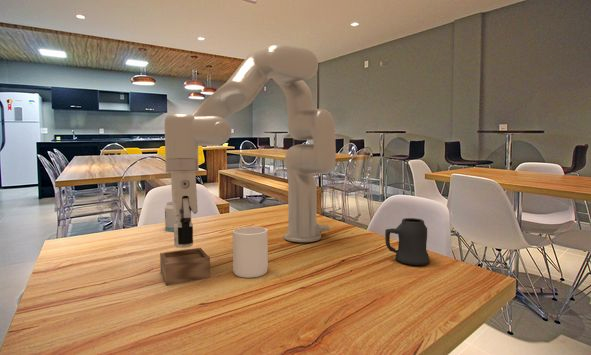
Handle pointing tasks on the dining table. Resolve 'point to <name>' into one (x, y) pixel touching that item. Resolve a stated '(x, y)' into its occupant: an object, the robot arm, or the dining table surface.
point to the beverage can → (170, 217)
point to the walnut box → (184, 266)
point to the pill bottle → (177, 235)
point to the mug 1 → (250, 251)
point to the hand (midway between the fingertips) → (184, 240)
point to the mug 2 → (410, 242)
